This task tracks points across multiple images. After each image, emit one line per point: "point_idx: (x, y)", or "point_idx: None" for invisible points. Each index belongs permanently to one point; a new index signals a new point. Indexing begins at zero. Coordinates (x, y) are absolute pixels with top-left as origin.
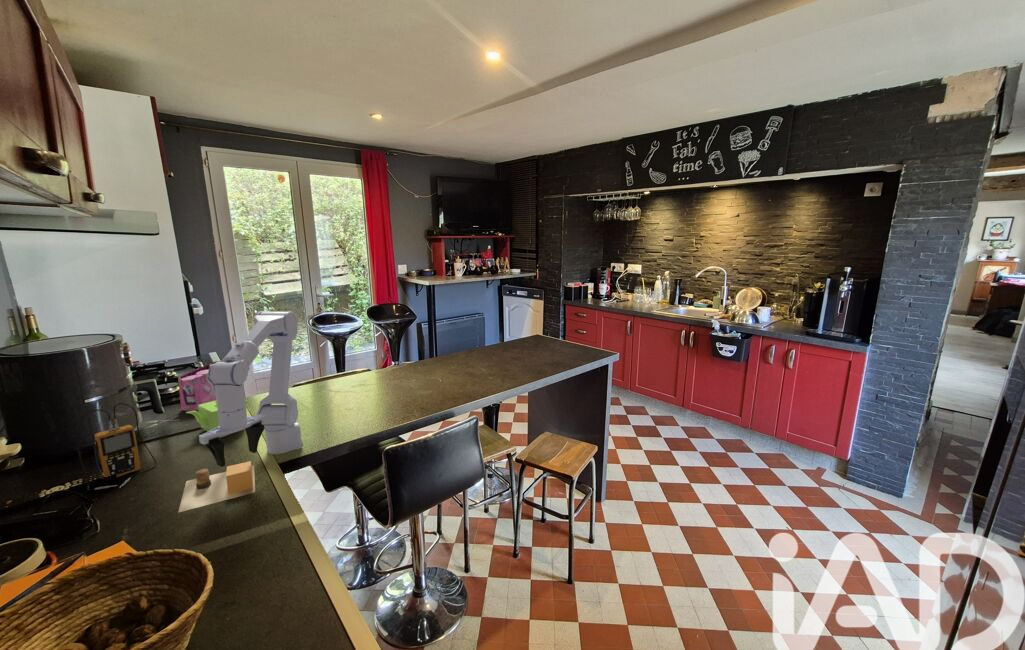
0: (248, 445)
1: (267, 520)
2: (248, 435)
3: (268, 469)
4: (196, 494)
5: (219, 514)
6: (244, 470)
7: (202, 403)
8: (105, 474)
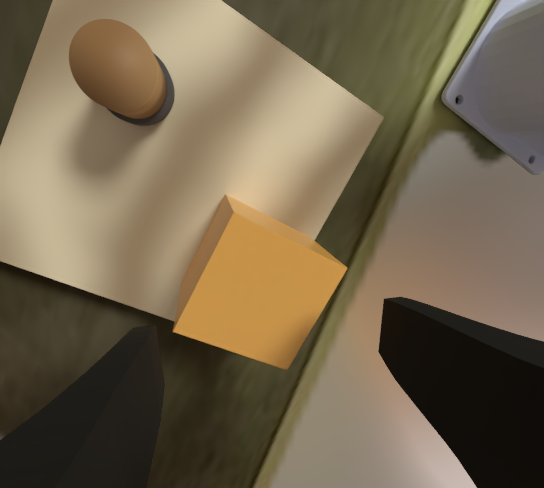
0: (417, 315)
1: (203, 472)
2: (522, 394)
3: (395, 174)
4: (81, 149)
5: (117, 338)
6: (265, 348)
7: None
8: None
